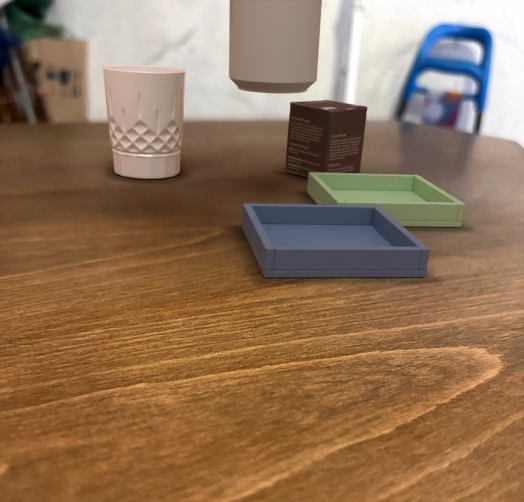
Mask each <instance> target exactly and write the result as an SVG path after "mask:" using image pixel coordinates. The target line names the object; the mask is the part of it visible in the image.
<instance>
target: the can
mask: <svg viewBox="0 0 524 502" xmlns="http://www.w3.org/2000/svg"><path fill="white" fill-rule="evenodd" d="M322 5H323V0H229V17H228V18H229V19H228V21H229V24H228V25H229V26H228V27H229V28H228V29H229V30H228V32H229V33H228V35H229V37H228V39H229V40H228V49H229V50H228V78H229V79H230V80H231V82H233V84H234V85H235V86H237V89H238V90H240V91H243V92H250V93H261V94H302V93H305V92H307V91H308V89H309V88H310V87H311V86H313V85H314V84H315V83H316V82H317V81H318V70H319V69H318V68H319V67H318V66H319V54H320V53H319V50H320V38H321V37H320V35H321V22H322V21H321V20H322V8H323V7H322Z"/></svg>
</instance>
